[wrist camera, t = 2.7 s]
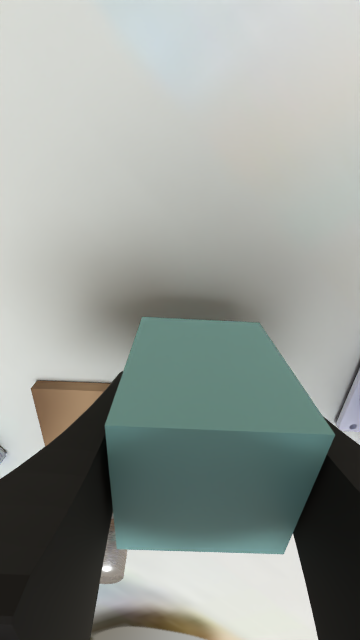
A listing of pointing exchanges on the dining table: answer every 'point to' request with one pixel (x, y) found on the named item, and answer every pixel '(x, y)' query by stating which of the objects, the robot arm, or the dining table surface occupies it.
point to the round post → (113, 560)
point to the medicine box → (2, 455)
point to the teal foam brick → (210, 440)
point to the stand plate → (62, 404)
